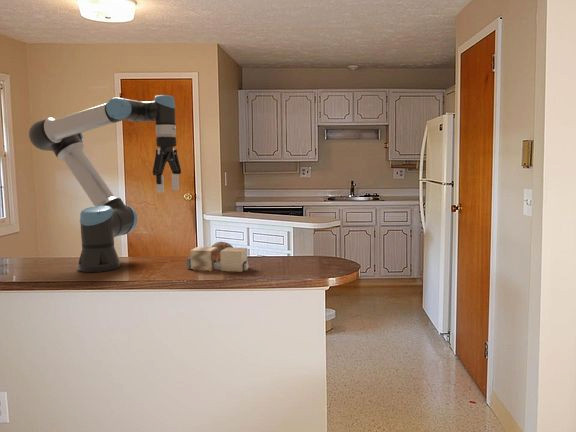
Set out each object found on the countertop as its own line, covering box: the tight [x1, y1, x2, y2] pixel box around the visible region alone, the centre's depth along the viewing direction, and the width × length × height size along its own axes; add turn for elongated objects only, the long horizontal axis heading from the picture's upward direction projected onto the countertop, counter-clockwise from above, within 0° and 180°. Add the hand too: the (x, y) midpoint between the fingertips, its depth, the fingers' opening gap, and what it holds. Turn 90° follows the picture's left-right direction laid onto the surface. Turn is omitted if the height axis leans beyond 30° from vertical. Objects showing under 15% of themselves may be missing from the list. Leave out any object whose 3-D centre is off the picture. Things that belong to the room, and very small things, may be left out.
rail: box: [186, 247, 249, 273], centre depth 196 cm, size 23×7×8 cm, turn 78°
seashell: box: [210, 241, 234, 261], centre depth 213 cm, size 10×9×10 cm
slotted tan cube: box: [189, 246, 219, 272], centre depth 197 cm, size 9×7×8 cm
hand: (168, 191), depth 202 cm, fingers open, 13 cm apart
